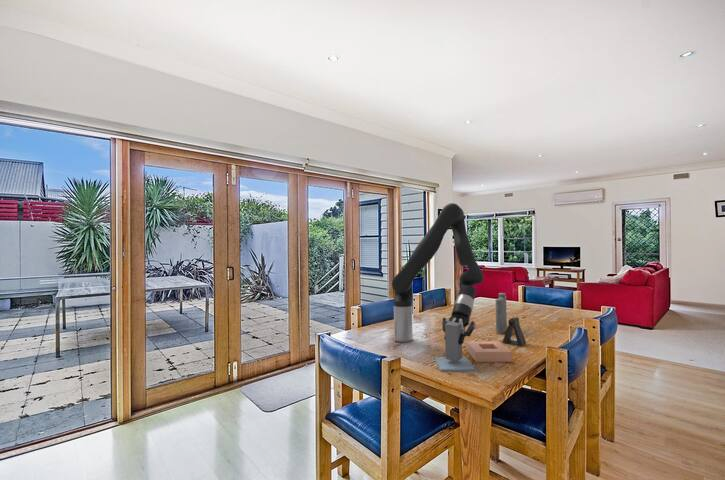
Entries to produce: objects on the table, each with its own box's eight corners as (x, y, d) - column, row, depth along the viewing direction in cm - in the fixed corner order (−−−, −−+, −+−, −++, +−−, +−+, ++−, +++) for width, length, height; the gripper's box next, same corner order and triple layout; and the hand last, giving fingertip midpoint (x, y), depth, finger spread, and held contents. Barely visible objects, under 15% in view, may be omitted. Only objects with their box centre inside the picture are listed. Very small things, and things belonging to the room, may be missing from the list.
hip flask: (501, 326, 194) (500, 290, 194) (508, 327, 192) (507, 291, 192) (495, 333, 181) (494, 295, 181) (503, 334, 179) (503, 295, 179)
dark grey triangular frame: (526, 343, 163) (525, 318, 163) (522, 346, 158) (521, 320, 158) (506, 339, 169) (506, 315, 169) (502, 342, 164) (501, 317, 164)
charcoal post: (445, 358, 138) (444, 324, 138) (450, 355, 142) (449, 321, 142) (457, 361, 135) (456, 325, 135) (462, 357, 139) (461, 323, 139)
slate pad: (440, 371, 131) (440, 369, 131) (434, 359, 144) (434, 357, 144) (475, 370, 131) (474, 368, 131) (465, 358, 144) (465, 356, 144)
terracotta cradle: (476, 361, 140) (476, 352, 140) (466, 350, 155) (466, 341, 155) (511, 361, 140) (511, 351, 140) (498, 349, 154) (498, 341, 154)
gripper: (444, 300, 150) (433, 335, 140) (477, 304, 141) (468, 340, 132) (449, 310, 154) (439, 344, 145) (481, 314, 146) (472, 350, 136)
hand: (452, 342), depth 138 cm, fingers closed on charcoal post, 5 cm apart
